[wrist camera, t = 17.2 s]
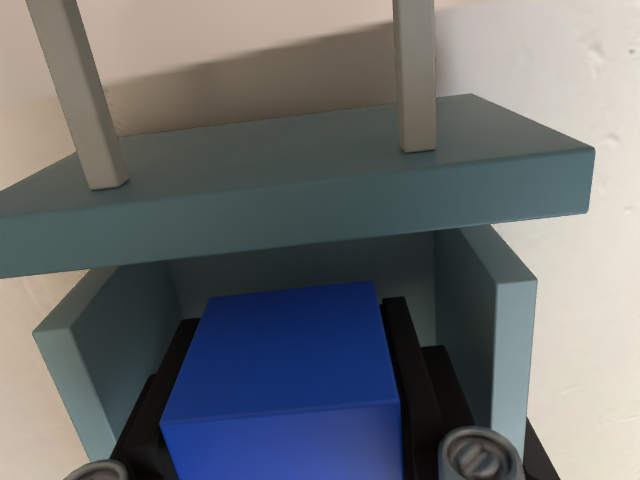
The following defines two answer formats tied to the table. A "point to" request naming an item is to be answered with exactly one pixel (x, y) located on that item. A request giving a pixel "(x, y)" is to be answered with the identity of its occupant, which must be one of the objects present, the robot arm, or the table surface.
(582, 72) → the table surface
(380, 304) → the robot arm
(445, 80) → the table surface
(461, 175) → the drawer
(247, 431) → the blue block
